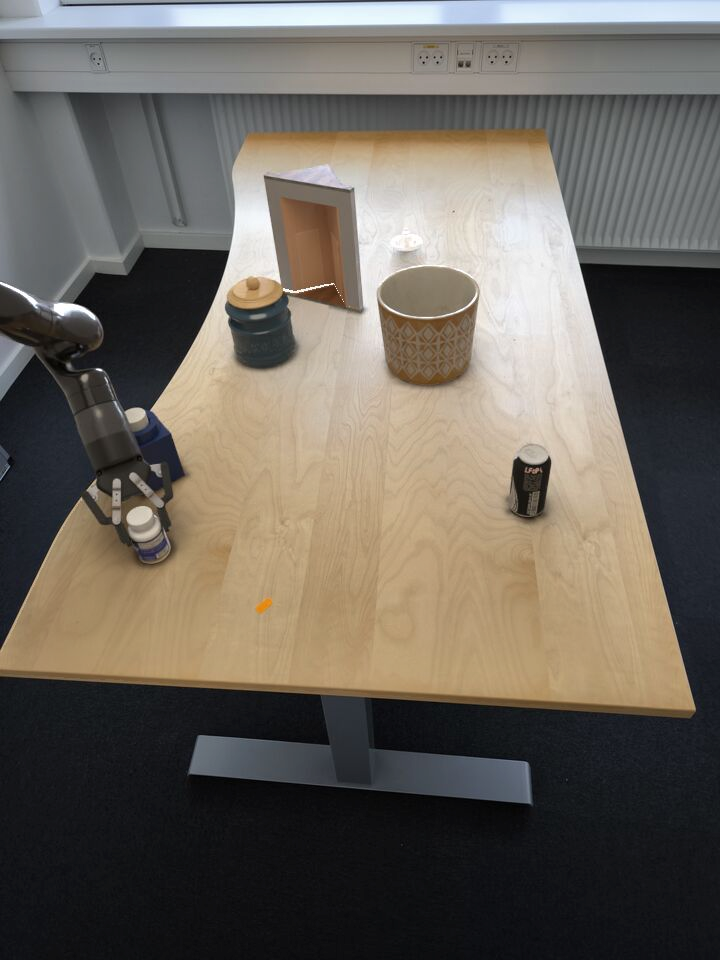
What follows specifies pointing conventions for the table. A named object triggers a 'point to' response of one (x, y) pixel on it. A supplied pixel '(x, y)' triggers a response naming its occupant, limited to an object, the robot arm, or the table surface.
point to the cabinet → (316, 236)
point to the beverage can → (529, 480)
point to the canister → (260, 322)
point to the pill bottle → (147, 535)
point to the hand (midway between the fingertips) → (149, 538)
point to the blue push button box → (158, 450)
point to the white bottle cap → (137, 418)
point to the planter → (428, 322)
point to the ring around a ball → (406, 242)
